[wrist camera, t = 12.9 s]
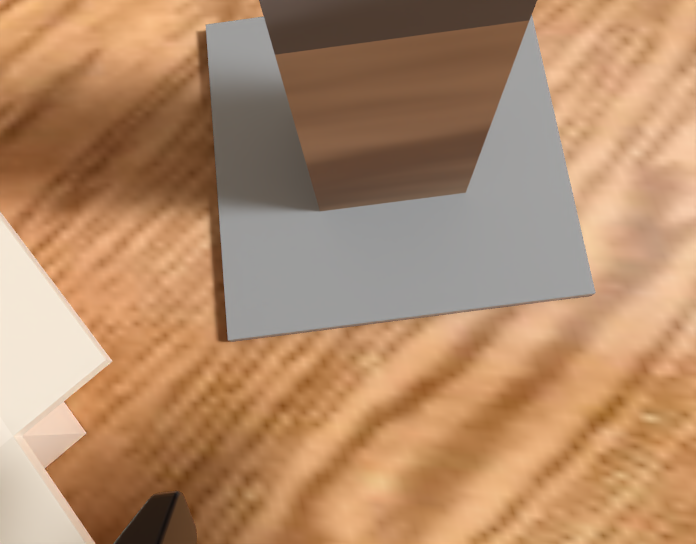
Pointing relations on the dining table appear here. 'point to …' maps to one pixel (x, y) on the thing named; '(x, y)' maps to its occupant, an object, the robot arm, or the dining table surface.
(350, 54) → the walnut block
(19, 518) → the carton
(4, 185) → the dining table surface
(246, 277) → the slate mat
